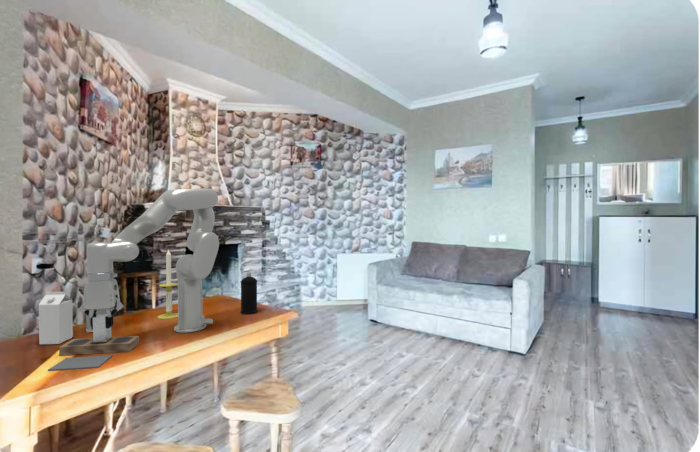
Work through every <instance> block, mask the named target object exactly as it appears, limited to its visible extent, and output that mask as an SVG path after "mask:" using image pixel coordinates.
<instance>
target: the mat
mask: <svg viewBox="0 0 700 452" xmlns="http://www.w3.org/2000/svg"><path fill="white" fill-rule="evenodd" d="M112 357H113V355H112V354H109V355H94V356H93V355H91V356H78V357H77V356H75V357H65V358H64V359H62V360H61V361H59V362H58V363H56V364H54V365H52V366H51V367H50V368H48V369H47V371H48V372H52V371H55V372H56V371H67V370H82V369H83V370H84V369H98V368H100V367H101V366H102V365H104V364H105V363H107V361H108V360H110V359H111V358H112Z"/></svg>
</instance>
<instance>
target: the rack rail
mask: <svg viewBox="0 0 700 452" xmlns="http://www.w3.org/2000/svg"><path fill="white" fill-rule="evenodd" d="M138 345H140V335H128V336H112V338H111V339H110V340H108V341H107V342H100V343H93V337H89V338H72V339H71V340H68V341H67V342H66V343H63V344H62V345H61V346H59V347H58V348H59V349H58V352H59V353H58V356H59V357H60V356H61V357H62V356H63V357H65V356H64V355H66V356H79V355H78V354H83V355H98V354H111V353H112V354H114V353H115V354H116V353H130V352H131V351H132V350H134V349H135V348H136V347H137V346H138ZM76 354H77V355H76Z"/></svg>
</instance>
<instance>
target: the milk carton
mask: <svg viewBox="0 0 700 452" xmlns="http://www.w3.org/2000/svg"><path fill="white" fill-rule="evenodd" d="M73 320H74V319H73V299H72V298H71V297H70V296H69V295H68V294H67V291H45V295H44V297H43V298H42V299H41V301H40V302H39V304H38V332H39V333H38V338H39V339H38V341H39V342H38V343H39V345H60V344H62V343H64V342H66V341H69V340H70V339H73V338H72V337H74V333H73V332H74V331H73V327H74V325H73V323H74V321H73Z"/></svg>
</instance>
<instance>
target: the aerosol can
mask: <svg viewBox="0 0 700 452" xmlns="http://www.w3.org/2000/svg"><path fill="white" fill-rule="evenodd" d="M239 282H240V314H242V315H252V314H253V315H254V314H256V313H258V279H256V278H255V277H253V276H252V272H250V271H249V272H246V277H243V278H242V279H241V280H240V281H239Z"/></svg>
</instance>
